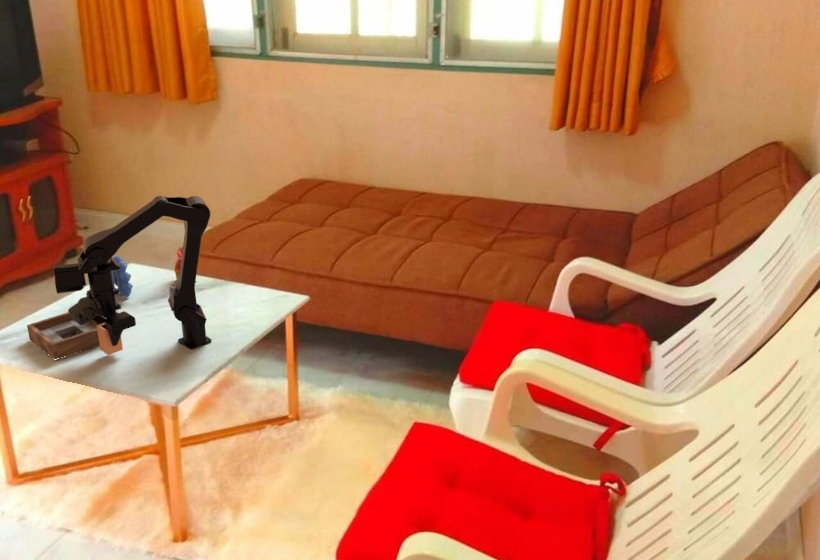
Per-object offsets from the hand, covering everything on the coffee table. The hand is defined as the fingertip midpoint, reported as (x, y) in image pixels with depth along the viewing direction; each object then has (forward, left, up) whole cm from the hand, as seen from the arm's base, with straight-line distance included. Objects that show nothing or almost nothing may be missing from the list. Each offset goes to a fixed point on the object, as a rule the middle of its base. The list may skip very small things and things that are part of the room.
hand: (110, 342), depth 195 cm
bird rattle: (+27, -37, -4) cm, 46 cm away
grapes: (+32, -19, -4) cm, 37 cm away
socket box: (+15, +4, -4) cm, 16 cm away
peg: (0, 0, -2) cm, 2 cm away
